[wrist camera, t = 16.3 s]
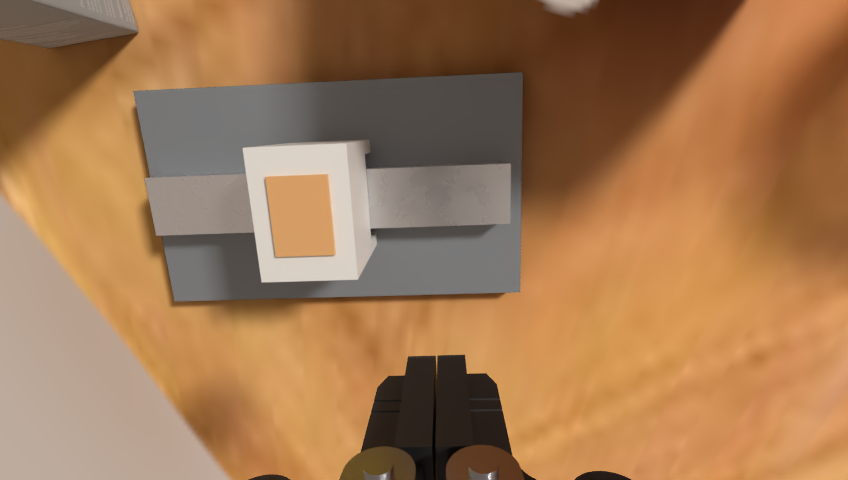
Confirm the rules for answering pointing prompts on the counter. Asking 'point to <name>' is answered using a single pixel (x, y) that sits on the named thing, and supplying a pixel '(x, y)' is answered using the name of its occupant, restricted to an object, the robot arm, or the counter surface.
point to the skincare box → (64, 21)
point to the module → (310, 210)
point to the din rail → (387, 196)
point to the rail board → (389, 145)
